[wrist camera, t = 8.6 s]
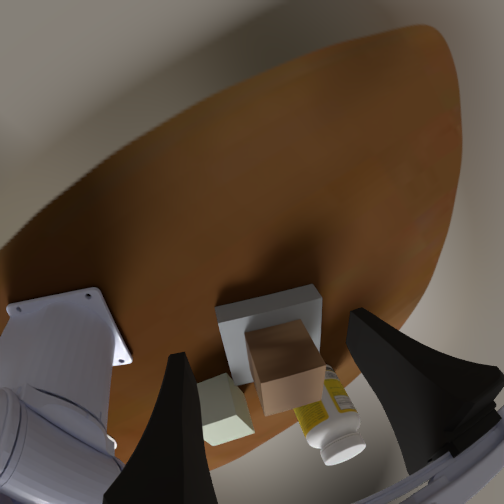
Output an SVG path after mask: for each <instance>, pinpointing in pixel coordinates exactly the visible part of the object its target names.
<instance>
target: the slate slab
mask: <svg viewBox="0 0 504 504" xmlns="http://www.w3.org/2000/svg"><path fill="white" fill-rule="evenodd" d="M215 311H216V316H217V321H218V325H219V329H220V333H221V337H222V341H223V344H224V348H225V352H226V356H227V360H228V363H229V367H230V371H231V374H232V378H233V382H234V385H235V386H238V385H242V384H246V383H250V382H254V381H253V378H252V375H251V372H250V368H249V362H248V355H247V349H246V342H245V336H244V333H245V332H249V331H254V330H258V329H262V328H266V327H271V326H275V325H279V324H283V323H287V322H291V321H295V320H299V319H301V321H302V322H303V324H304V326H305V328H306V329H307V331H308V333H309V335H310V337H311V338H312V340H313V342H314V344H315V346H316V347H317V349H318V351H319V353H320V337H321V318H322V297H321V295H320V294H319V292H318V291H317V289H316V288H315V286H314V285H313V284H310V285H306V286H302V287H298V288H294V289H290V290H286V291H282V292H278V293H274V294H269V295H265V296H261V297H257V298H252V299H248V300H244V301H240V302H235V303H231V304H226V305H222V306H217V307H215Z"/></svg>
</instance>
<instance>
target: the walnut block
mask: <svg viewBox="0 0 504 504" xmlns="http://www.w3.org/2000/svg"><path fill="white" fill-rule="evenodd" d="M244 336H245V342H246V349H247V355H248V362H249V368H250V372H251V375H252V378H253V381H254V384H255V387H256V391H257V394H258V397H259V400H260V403H261V406H262V409H263V412H264V415H265V416H269V415H272V414H276V413H280V412H283V411H287V410H291V409H294V408H297V407H301V406H304V405H307V404H310V403H314V402H317V401H320V400H321V398H322V392H323V385H324V378H325V371H326V363H325V362H324V360H323V358H322V356H321V354H320V353H319V351H318V349H317V347H316V346H315V344H314V342H313V340H312V338H311V337H310V335H309V333H308V331H307V329H306V328H305V326H304V324H303V322H302V321H301V319H299V320H295V321H291V322H287V323H283V324H279V325H275V326H271V327H266V328H262V329H258V330H254V331H249V332H245V333H244Z"/></svg>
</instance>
